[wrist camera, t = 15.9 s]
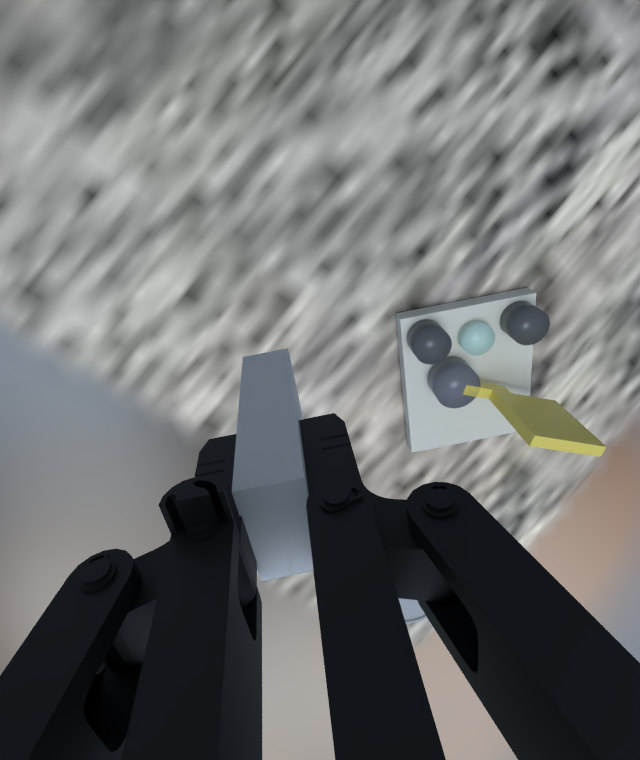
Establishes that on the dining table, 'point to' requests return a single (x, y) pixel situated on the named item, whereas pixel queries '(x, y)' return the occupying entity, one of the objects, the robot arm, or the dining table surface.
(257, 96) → the dining table surface
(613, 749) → the robot arm
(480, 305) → the base
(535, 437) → the yellow flat slab
